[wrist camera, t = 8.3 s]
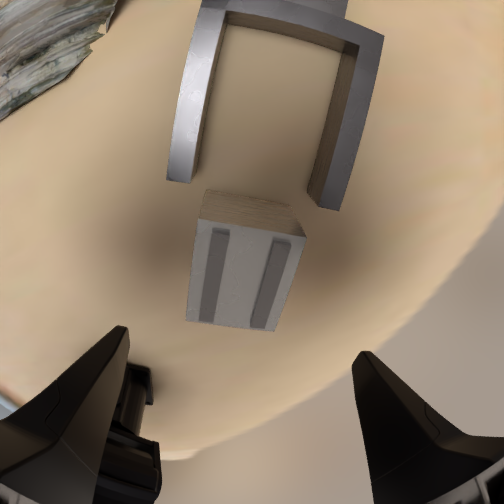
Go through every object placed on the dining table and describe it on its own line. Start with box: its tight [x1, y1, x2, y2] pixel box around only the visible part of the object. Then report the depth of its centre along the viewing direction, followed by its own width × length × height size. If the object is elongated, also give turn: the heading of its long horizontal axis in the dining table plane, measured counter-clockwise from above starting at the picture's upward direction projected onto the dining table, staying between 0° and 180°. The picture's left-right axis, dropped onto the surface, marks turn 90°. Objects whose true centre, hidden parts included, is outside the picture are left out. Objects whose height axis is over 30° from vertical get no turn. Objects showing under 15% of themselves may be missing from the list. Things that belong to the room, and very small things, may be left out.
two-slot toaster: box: [186, 190, 307, 332], centre depth 16 cm, size 6×5×5 cm
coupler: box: [166, 0, 384, 211], centre depth 11 cm, size 18×9×2 cm, turn 168°
